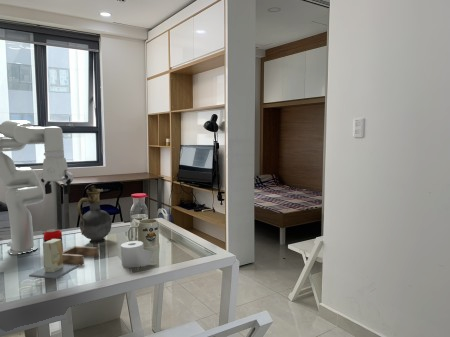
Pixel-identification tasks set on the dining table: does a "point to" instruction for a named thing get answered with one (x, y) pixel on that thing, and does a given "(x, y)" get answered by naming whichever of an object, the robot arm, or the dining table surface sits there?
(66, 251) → the walnut cradle
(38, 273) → the grey mat
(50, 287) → the dining table surface
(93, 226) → the pitcher
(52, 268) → the skincare box
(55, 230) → the soda can
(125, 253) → the toilet tissue
